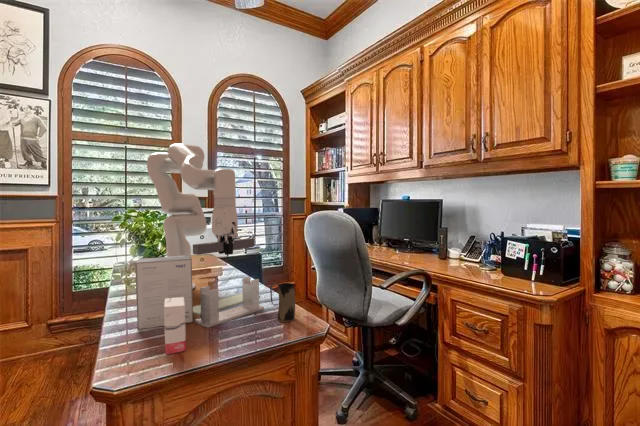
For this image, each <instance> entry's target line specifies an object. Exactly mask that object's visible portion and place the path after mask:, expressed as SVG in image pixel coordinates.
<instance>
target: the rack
mask: <svg viewBox="0 0 640 426" xmlns="http://www.w3.org/2000/svg"><path fill="white" fill-rule="evenodd" d="M199 288H200V305H201V315H200V318H196V319H194V323H196V324H197V325H200V326H202V327H205V328H207V329H208V328H211V327H214V326H217V325H220V324H223V323H226V322H229V321H232V320H235V319H239V318H241V317H245V316H246V315H251V314H253V313H255V312H260V311H262V310H264V309H265V306H264V305H261V304H260V298H259V296H260V279H259V278H256V279H253V280H251V276H248V277H243V278H242V293H243V303H242V304H241V305H239V306H236V307H233V308H229V309H225V310H222V311H220V309H219V300H220V298H219V297H220V296H219V295H220V294H219V292H220V291H219V288H214V289H211V286H209V285H207V286H203V287H199Z"/></svg>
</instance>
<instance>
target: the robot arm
mask: <svg viewBox="0 0 640 426" xmlns="http://www.w3.org/2000/svg"><path fill="white" fill-rule="evenodd" d="M204 160H205V153H204V150H203V149H202V148H201V146H198V145H195V144H187V143H180V142H178V143H173V144H171V145H170V146H169V147H168V148H167V152H154V153H151V154H149V156H148V157H147V161H146V171H147V173H148V176H149V178H150V180H151V182H152V183H153V185H154V187H155V190H156V193H157V197H158V201H159V204H160V208H161V210H162V211H163V212H164V214H166V215H170V216H167V217H166V218H165V219H164V221H163V231H164V237H165V243H166V244H165V246H166V247H165V248H166V257H172V256H187V255H191V256H192V248H191V244H190V242H189V241H188V239H187V237H196V236H200V235H203V234H205V232H206V231H207V227H208V225H207V220H206V215H205V214H204V211H203V208H202V204H201V202H200V199H199V197H198V196H197V195H196V194H194V193H190V192H181V191H180V190H179V188H178V185H177V182H176V181H175V179H174V178H173V177H171V176H170V175H169V173H170V174H171V173H172V174H180V177H181V179H182V181H183V182H184V183H185V184H187V186H188V187H190V188H192V189H194V190H199V191H200V190H204V191H205V190H206V191H213V209H212V217H211V218H212V219H211V232H212V234H213V235H214V236H215V238H216V239H217V241H216V242H220V241H226V244H225V251H221V252H218V254H219V255H223V254H224V255H227V256H229V255H233V254H234V250H233V243H234V240H236V239H237V238H238V237H239V234H238V232H239V231H238V230H239V228H238V227H239V221H238V213H237V208H236V205H237V204H236V200H237V199H236V173H235V170H234V169H232V168H231V169H229V168H217V169H206V168H205V169H203V165H204ZM195 288H196V283H194V282H192V290H194V289H195Z"/></svg>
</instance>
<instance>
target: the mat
mask: <svg viewBox="0 0 640 426" xmlns="http://www.w3.org/2000/svg"><path fill="white" fill-rule="evenodd" d="M260 298H261V295H259V299H260ZM239 303H240V304H243V292H242V293H239V294H236V295H232V296H227V297H224V298H221V299H220V298H219V310H223V309H225V308H229V307H232V306H235V305H236V306H237V305H239ZM193 315H197V316H201V304H197V305H195V306H194V305H193Z"/></svg>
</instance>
